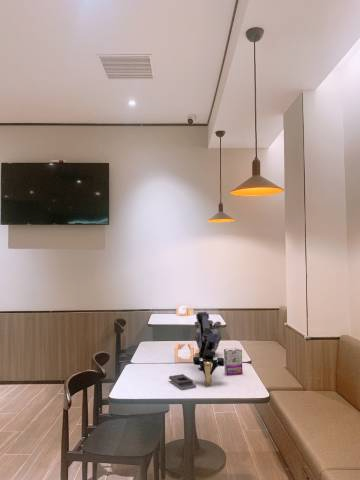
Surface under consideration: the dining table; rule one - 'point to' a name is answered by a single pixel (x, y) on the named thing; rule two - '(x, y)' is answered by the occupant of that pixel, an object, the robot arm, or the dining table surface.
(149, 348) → the dining table surface
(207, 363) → the brass pin
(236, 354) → the candy bar box
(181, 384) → the grey rectangular frame
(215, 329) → the decorative vase
